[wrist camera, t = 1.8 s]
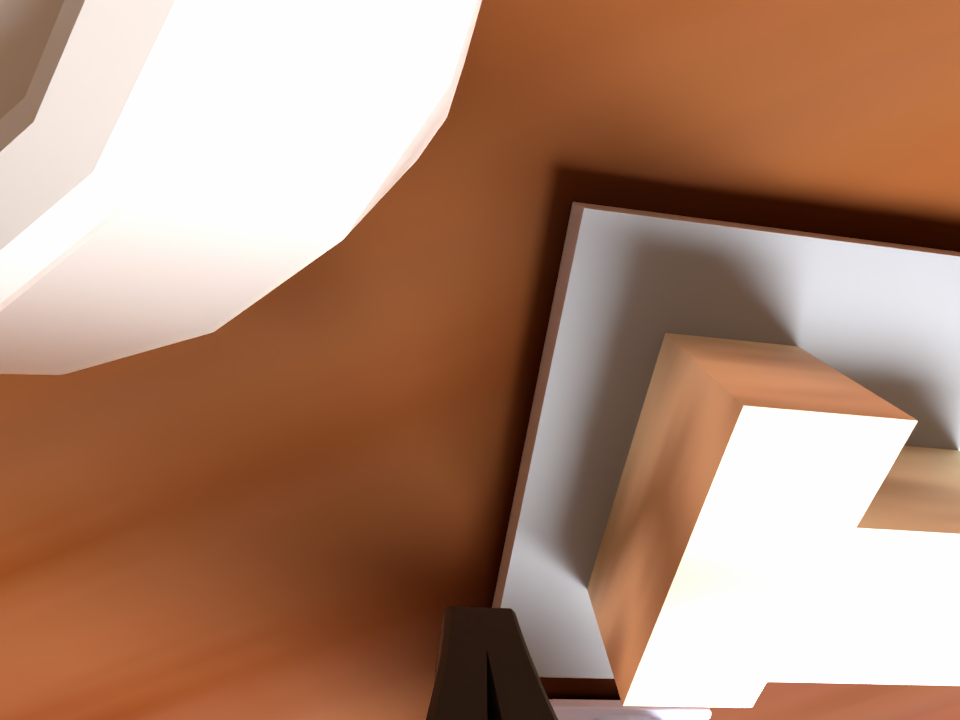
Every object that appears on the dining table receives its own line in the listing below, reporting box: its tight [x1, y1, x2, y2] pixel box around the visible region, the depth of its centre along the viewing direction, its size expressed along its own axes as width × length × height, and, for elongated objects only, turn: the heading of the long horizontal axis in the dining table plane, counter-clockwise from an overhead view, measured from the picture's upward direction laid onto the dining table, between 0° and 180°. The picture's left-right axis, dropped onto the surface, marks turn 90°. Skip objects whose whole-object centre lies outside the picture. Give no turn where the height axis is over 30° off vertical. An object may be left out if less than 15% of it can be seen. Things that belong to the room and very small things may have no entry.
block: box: [587, 333, 960, 708], centre depth 15 cm, size 10×11×4 cm
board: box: [492, 202, 960, 686], centre depth 18 cm, size 18×28×1 cm, turn 83°
